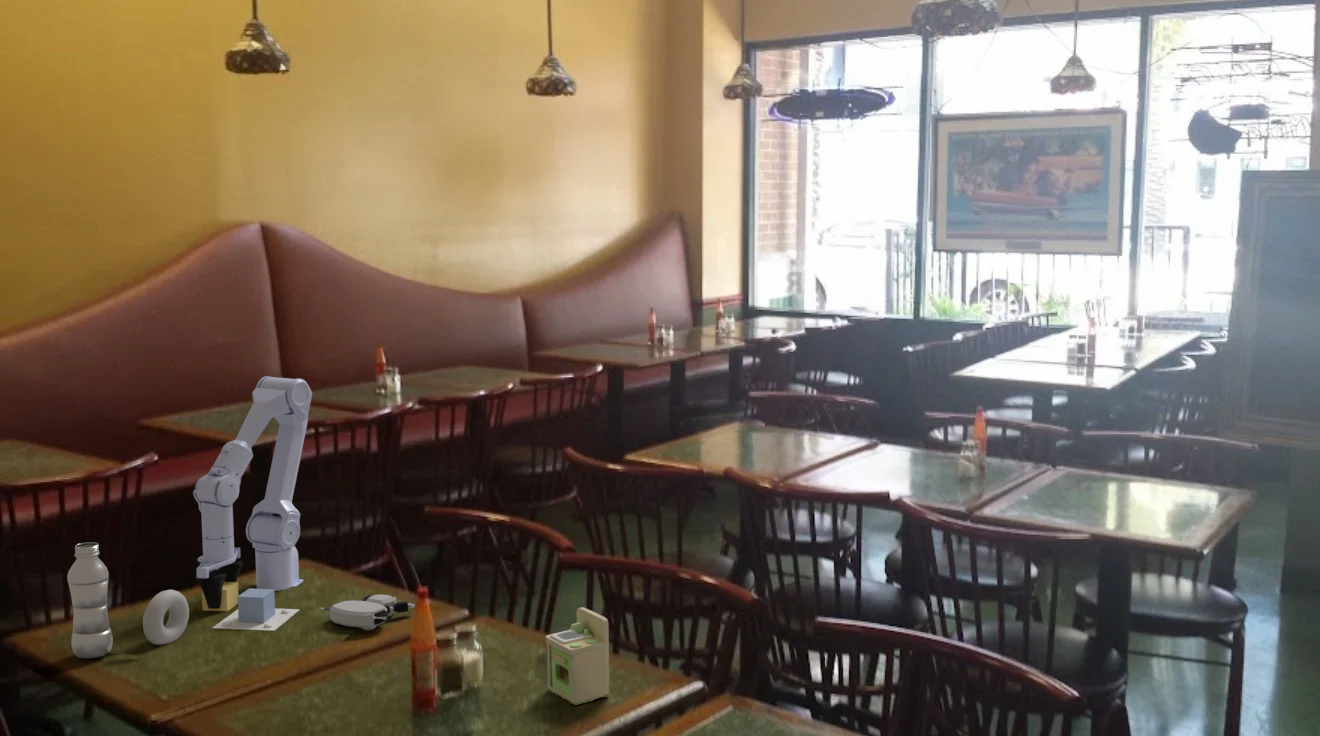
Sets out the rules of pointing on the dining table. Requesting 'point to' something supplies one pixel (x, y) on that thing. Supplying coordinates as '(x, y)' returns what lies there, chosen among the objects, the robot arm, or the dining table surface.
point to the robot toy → (366, 611)
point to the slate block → (256, 605)
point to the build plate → (270, 625)
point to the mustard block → (225, 597)
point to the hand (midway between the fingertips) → (220, 603)
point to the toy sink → (580, 658)
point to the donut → (156, 613)
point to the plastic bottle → (89, 603)
